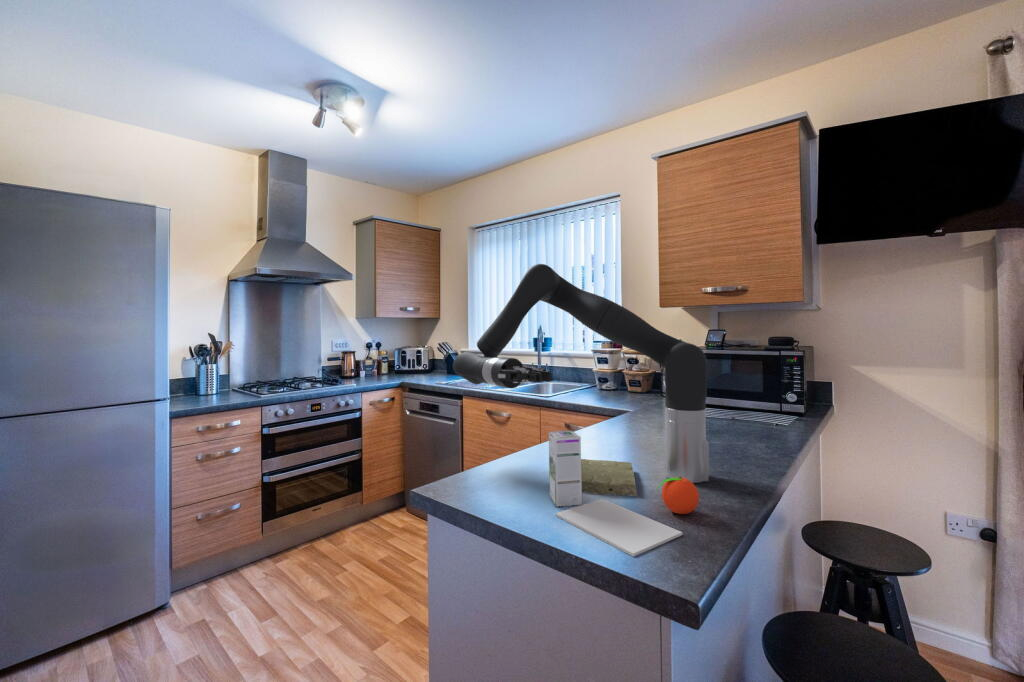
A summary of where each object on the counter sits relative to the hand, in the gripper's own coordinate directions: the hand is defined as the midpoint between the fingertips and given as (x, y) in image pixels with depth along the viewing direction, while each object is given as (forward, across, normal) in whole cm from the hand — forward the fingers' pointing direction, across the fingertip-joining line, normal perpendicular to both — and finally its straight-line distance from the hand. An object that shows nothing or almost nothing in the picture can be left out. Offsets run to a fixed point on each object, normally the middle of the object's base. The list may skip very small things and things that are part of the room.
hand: (545, 377), depth 95 cm
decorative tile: (-1, +15, +27) cm, 31 cm away
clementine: (+23, +15, +26) cm, 38 cm away
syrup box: (+5, +1, +26) cm, 27 cm away
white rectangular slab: (+19, +1, +26) cm, 32 cm away
